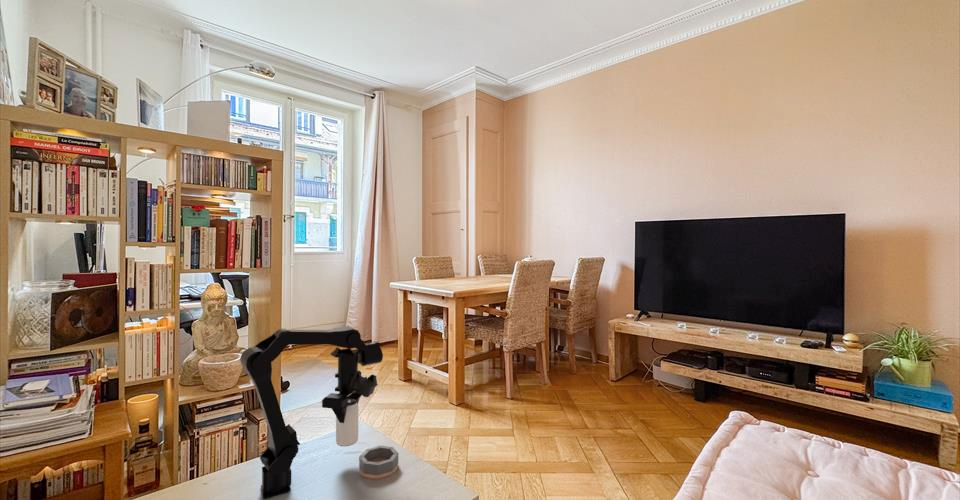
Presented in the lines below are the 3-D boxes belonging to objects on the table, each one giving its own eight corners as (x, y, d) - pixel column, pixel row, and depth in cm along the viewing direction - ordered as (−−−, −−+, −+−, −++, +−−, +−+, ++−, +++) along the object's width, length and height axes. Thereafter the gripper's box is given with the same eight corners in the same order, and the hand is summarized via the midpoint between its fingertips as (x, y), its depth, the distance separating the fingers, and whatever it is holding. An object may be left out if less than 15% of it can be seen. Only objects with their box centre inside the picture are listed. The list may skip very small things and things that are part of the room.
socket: (366, 483, 111) (366, 469, 111) (354, 465, 121) (354, 451, 121) (404, 471, 117) (404, 457, 117) (390, 454, 127) (390, 442, 127)
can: (361, 437, 125) (361, 398, 124) (353, 447, 118) (353, 407, 118) (341, 436, 125) (341, 397, 125) (332, 446, 119) (332, 406, 119)
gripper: (357, 381, 111) (357, 437, 111) (385, 362, 129) (385, 410, 129) (320, 378, 113) (320, 433, 113) (353, 359, 131) (353, 407, 131)
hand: (347, 420), depth 122 cm, fingers closed on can, 5 cm apart
